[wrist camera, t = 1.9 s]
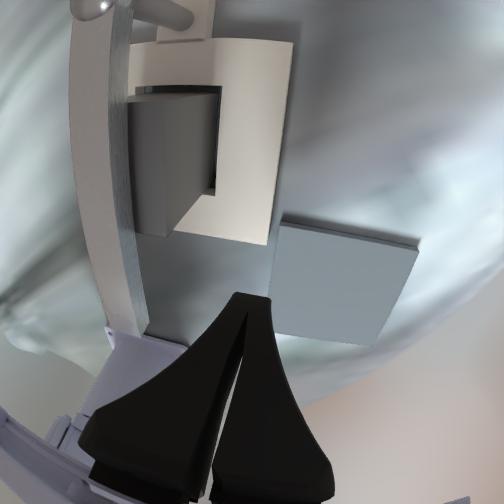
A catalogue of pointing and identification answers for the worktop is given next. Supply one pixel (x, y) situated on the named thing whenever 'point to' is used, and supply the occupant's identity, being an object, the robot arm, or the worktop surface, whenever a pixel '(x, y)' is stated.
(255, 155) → the socket plate
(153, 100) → the plug
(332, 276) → the pad
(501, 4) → the worktop surface
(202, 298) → the worktop surface
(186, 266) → the worktop surface
